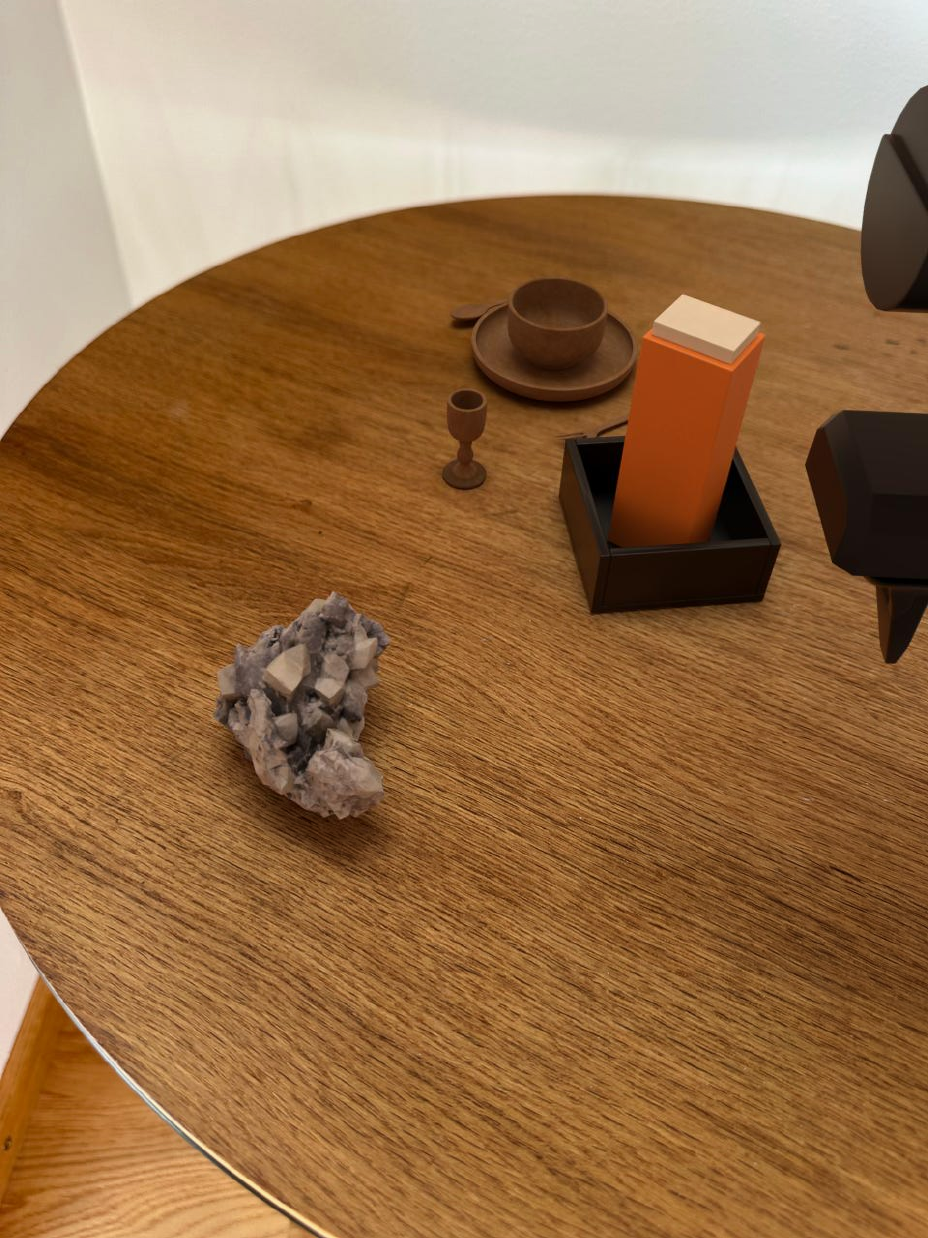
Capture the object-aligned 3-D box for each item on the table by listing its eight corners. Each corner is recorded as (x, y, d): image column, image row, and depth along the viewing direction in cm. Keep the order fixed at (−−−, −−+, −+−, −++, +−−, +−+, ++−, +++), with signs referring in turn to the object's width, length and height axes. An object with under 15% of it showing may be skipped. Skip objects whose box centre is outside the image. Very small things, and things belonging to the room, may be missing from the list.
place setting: (697, 397, 76) (714, 323, 71) (463, 499, 68) (466, 424, 63) (545, 285, 85) (552, 214, 81) (325, 363, 77) (319, 289, 73)
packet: (711, 538, 65) (770, 320, 54) (681, 576, 63) (736, 356, 52) (638, 505, 67) (680, 288, 56) (606, 541, 65) (644, 322, 54)
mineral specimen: (396, 840, 47) (329, 627, 44) (206, 868, 49) (132, 668, 47) (450, 725, 58) (399, 551, 56) (294, 753, 61) (238, 586, 58)
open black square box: (713, 486, 69) (728, 429, 66) (762, 601, 63) (782, 544, 59) (558, 496, 68) (565, 438, 65) (590, 614, 61) (600, 556, 58)
